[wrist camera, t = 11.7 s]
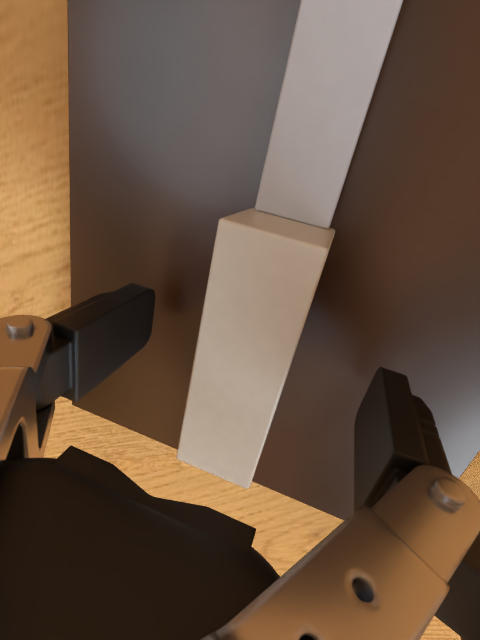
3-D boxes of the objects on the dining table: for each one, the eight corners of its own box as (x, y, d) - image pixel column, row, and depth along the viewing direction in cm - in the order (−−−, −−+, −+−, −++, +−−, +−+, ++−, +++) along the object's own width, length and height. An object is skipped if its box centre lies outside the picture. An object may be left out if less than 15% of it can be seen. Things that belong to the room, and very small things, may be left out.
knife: (269, 429, 14) (248, 490, 11) (208, 405, 14) (175, 459, 11) (540, -381, 6) (708, -884, 3) (379, -372, 6) (398, -799, 3)
